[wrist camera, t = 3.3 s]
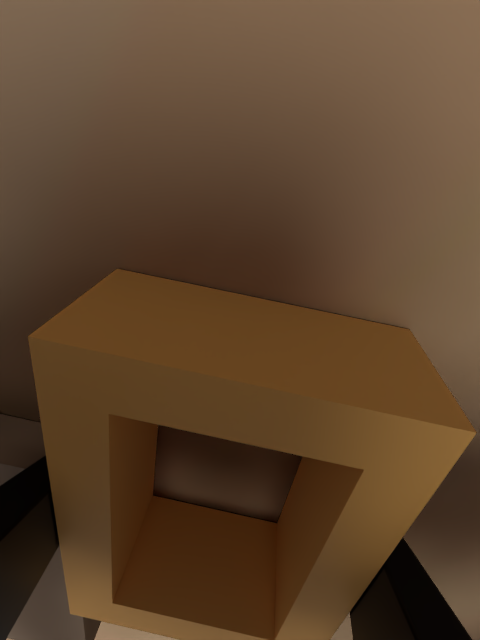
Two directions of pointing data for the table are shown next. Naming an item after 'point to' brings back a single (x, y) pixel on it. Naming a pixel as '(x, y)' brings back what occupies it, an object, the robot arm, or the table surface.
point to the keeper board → (50, 593)
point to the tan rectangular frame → (240, 426)
